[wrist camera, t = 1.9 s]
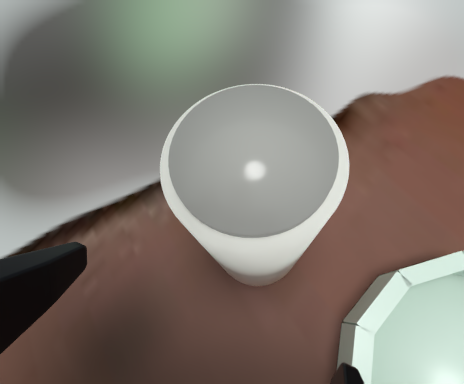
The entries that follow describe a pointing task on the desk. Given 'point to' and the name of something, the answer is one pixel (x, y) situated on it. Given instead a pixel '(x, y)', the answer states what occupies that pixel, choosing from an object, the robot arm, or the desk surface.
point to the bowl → (409, 326)
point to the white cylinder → (254, 177)
